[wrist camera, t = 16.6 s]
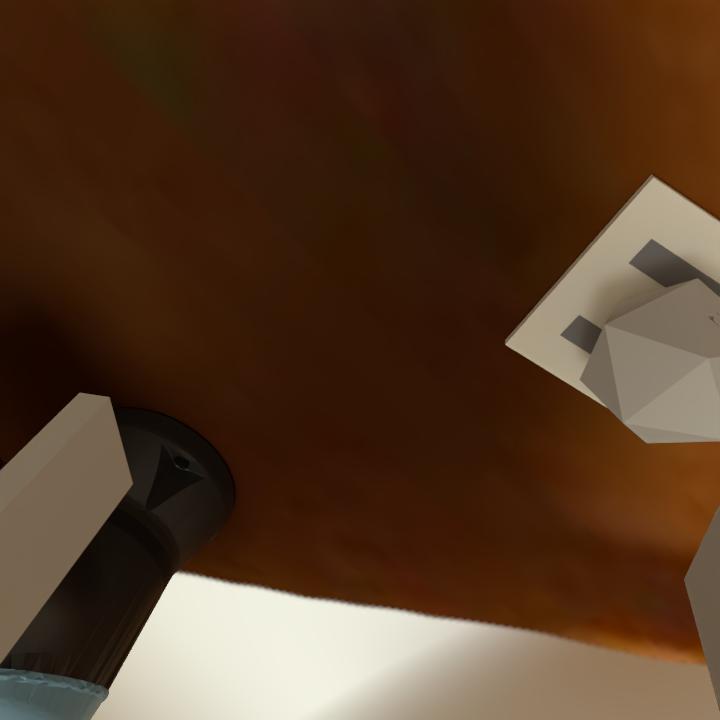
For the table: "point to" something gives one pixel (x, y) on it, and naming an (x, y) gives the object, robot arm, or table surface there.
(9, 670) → the robot arm
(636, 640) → the table surface
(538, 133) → the table surface
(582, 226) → the table surface
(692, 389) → the die
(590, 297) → the board
